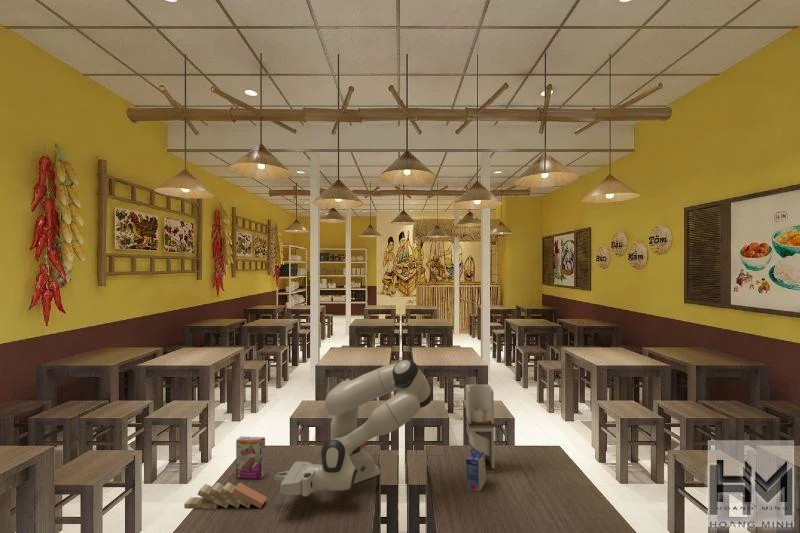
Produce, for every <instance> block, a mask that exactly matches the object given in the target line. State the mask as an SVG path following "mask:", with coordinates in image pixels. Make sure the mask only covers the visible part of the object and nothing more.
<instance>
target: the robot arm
mask: <svg viewBox="0 0 800 533" xmlns="http://www.w3.org/2000/svg"><path fill="white" fill-rule="evenodd" d="M394 391H396V393H395V395H393V396H392V397H389V399H387V400H385V401H384V402H382V403H381V404H379V406H377V407H376V408H375V409H374V410H373V411H372V412H371V413H370V415H369V417H368V419H367V420H366V421H365V422H364V423H363V424H362V425H360V426H358V414H359V408H360V407H361V406H363V405H364V404H366V403H369V402H371V401H372V400H373V401H374V400H375V399H378V398H380V397H383V396H385V395H388V394H390V393H393V392H394ZM433 398H434V394H433V389H432V387H431V385H430V383H429V382H428V379H427V378H426V376H425V374H423V372H422V371H421V369H420V368H419V366H418V364H417V363H415V362H414V360H412V359H408V358H405V359H401V360H399V361H398V362H394V363H390V364H387V365H384V366H381V367H379V368H376V369H374V370H371V371H369V372H366V373H364V374H362V375H360V376H358V377H356V378H354V379H351V380H350V379H348V380H343V381H341V382H340V383H338V384H337V385H336V386H335V387H333V388H332V389H331V390H330V391H329V392H328V393H327V395H326V397H325V401H324V406H325V409H326V411H327V412H328V413H329V414H330V415H332V419H331V422H330V439H329V440H327V441H326V442H325V443H324V444H323V445H322V448H321V453H320V454H321V456H320V457H321V464H313V463H312V462H309V461H298V460H297V461H295V462H294V463H293V464H292V466H291V467H290V469H289V470H285V471H281V472H276V473H275V475H274V477H273V478H274V481H276V482H278V481H279V482H281V483H280V485H279V486H280V487H279V489H280V491H279V492H280V493H281V494H282V495H285V496H286V495H287V496H299V495H301V497H307V496H309V495H311V494H312V493H314V492H316V491H323V490H327V491H330V492H331V491H333V492H334V491H336V492H339V491H348V490H350V489H352V488H353V486H354V485H355V484H357V483H360V482H364V481H366V480H368V479H371V478H375V477H377V476H379V475H381V469H380V468H379V466H378V465H377V464H375V460H374V458H373V456H372V455H371V454H370V453H369V452H367V451H365V450H364V449H365V447H366V444H365V443H366V442H368V441H369V440H371V439H373V438H375V437H379V436H385V435H387V434H390V433H393V432H395V431H397V430H398V429H399V428H401V427H403V426H404V425H406V424H407V423H409V421H410V420H412V419H413V418H414V417H415V416H416V415H417V413H419V411H420V409H422V408H424V407H426V406H428V405H429V404H430V403H431V402H432V400H433ZM357 426H358V427H357Z"/></svg>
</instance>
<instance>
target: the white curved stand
mask: <svg viewBox="0 0 800 533" xmlns="http://www.w3.org/2000/svg"><path fill="white" fill-rule="evenodd" d="M494 398H495V396H494V389H493V388H492V387H491V385H490V384H465V423H466V426H467V430H468V456H469V455H470V454H471V449H472V448H474V449H475V451H480V452H485V472H486V474H496V472H495V471H496V470H495V469H496V467H495V466H496V465H495V461H496V460H495V421H494V420H495V413H494V412H495V411H494V410H495V409H494V408H495V407H494V405H495V404H494V401H495V400H494ZM473 451H474V450H473Z"/></svg>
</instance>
